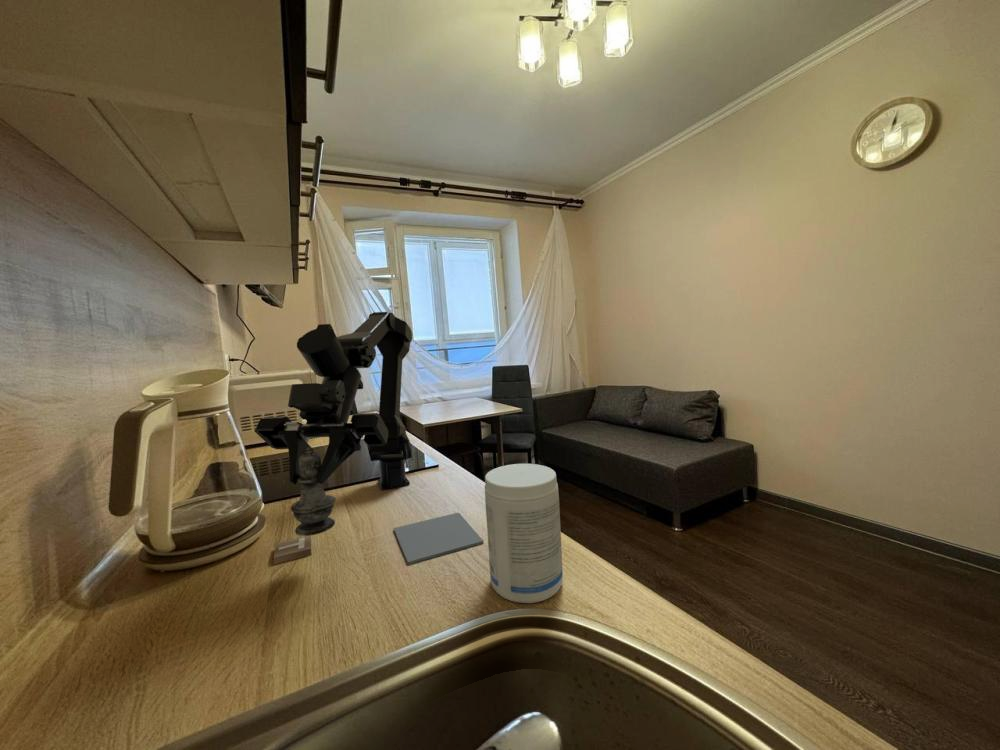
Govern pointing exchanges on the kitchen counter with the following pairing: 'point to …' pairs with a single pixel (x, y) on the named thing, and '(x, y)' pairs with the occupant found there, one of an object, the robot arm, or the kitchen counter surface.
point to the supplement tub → (524, 532)
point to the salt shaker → (312, 498)
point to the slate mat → (436, 537)
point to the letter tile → (292, 549)
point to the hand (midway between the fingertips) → (306, 483)
